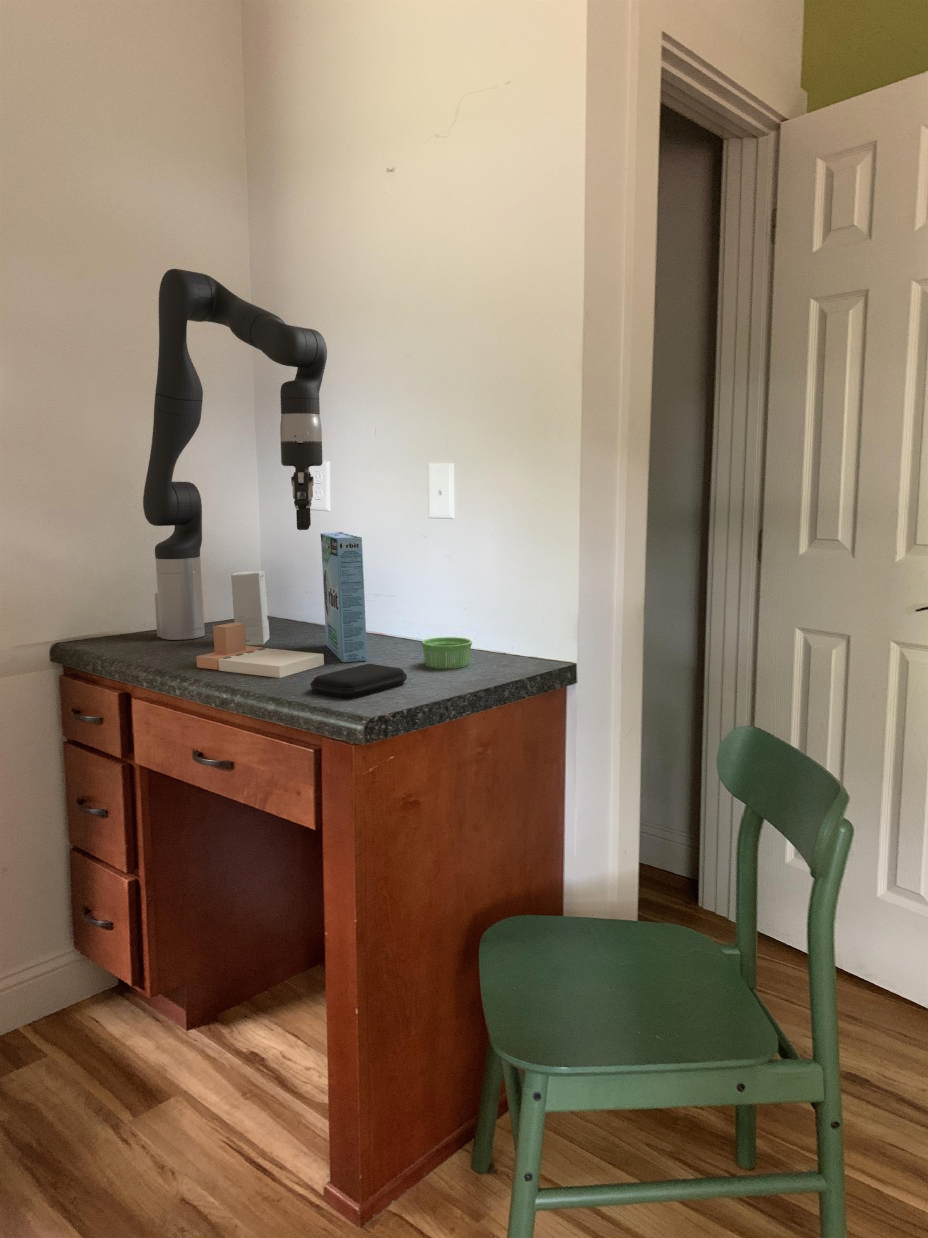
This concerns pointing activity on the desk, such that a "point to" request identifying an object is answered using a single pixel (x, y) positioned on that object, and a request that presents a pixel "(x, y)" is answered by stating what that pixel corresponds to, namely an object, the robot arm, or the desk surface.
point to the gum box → (344, 596)
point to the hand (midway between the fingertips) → (304, 528)
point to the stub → (225, 645)
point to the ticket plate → (271, 662)
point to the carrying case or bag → (358, 681)
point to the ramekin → (447, 652)
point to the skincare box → (251, 605)
